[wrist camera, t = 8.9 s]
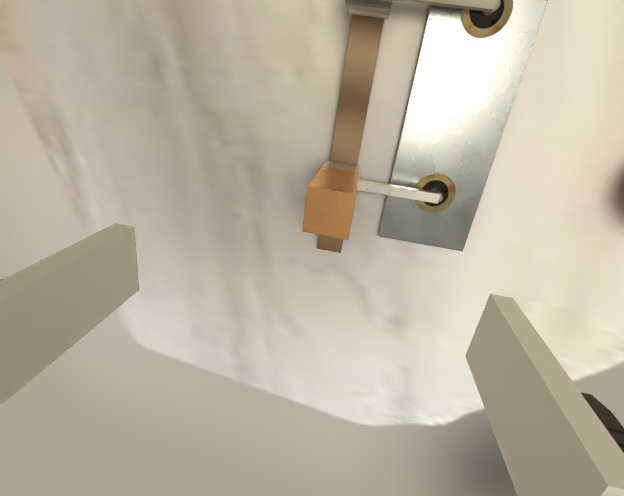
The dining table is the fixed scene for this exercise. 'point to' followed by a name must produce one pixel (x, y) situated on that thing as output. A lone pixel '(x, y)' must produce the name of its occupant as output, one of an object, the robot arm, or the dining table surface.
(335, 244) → the gauge rail
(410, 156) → the bolt plate
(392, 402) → the dining table surface
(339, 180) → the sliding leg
